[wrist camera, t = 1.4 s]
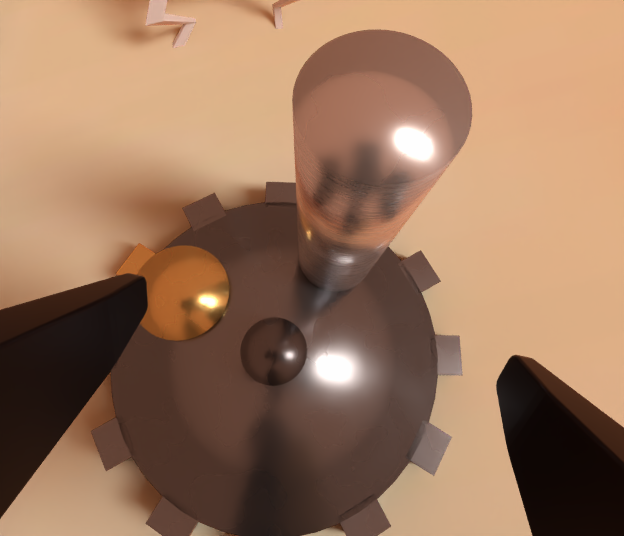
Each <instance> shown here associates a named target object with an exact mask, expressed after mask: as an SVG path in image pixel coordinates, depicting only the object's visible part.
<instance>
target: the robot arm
mask: <svg viewBox="0 0 624 536" xmlns="http://www.w3.org/2000/svg"><path fill="white" fill-rule="evenodd" d="M147 308H148V297H147V282H146V279H145V278H144V277H143V276H140V275H136V274H131V273H126V274H122V275H119V276H115V277H112V278H108V279H105V280H102V281H98V282H95V283H91V284H88V285H84V286H81V287H77V288H74V289H71V290H67V291H64V292H60V293H57V294H53V295H50V296H46V297H43V298H40V299H36V300H33V301H29V302H26V303H22V304H19V305H16V306H12V307H9V308H5V309H2V310H0V518H1V517H2V516H3V514H4V513H5V512H6V510H7V509H8V508H9V506H10V505H11V504H12V502H13V501H14V500H15V498H16V497H17V496H18V494H19V493H20V492H21V490H22V489H23V488H24V486H25V485H26V484H27V482H28V481H29V480H30V478H31V477H32V476H33V474H34V473H35V472H36V470H37V469H38V468H39V466H40V465H41V464H42V462H43V461H44V460H45V458H46V457H47V455H48V454H49V453H50V451H51V450H52V449H53V447H54V446H55V445H56V443H57V442H58V441H59V439H60V438H61V437H62V435H63V434H64V433H65V431H66V430H67V429H68V427H69V426H70V425H71V423H72V422H73V421H74V419H75V418H76V417H77V415H78V414H79V413H80V411H81V410H82V409H83V407H84V406H85V405H86V403H87V402H88V401H89V399H90V398H91V397H92V395H93V394H94V393H95V391H96V390H97V389H98V387H99V386H100V385H101V383H102V382H103V381H104V379H105V378H106V377H107V375H108V374H109V373H110V371H111V370H112V368H113V367H114V365H115V364H116V362H117V361H118V359H119V358H120V356H121V354H122V353H123V351H124V349H125V348H126V346H127V344H128V343H129V341H130V339H131V337H132V336H133V334H134V332H135V331H136V329H137V327H138V326H139V324H140V322H141V320H142V319H143V317H144V315H145V313H146V311H147ZM496 389H497V395H498V401H499V406H500V412H501V417H502V423H503V429H504V434H505V440H506V444H507V449H508V453H509V457H510V460H511V464H512V467H513V471H514V474H515V478H516V481H517V484H518V488H519V491H520V495H521V498H522V502H523V505H524V508H525V512H526V515H527V519H528V522H529V525H530V529H531V532H532V536H624V428H623V427H622V426H621V425H620V424H618V423H617V422H616V421H614V420H613V419H612V418H610V417H609V416H608V415H606V414H605V413H604V412H602V411H601V410H600V409H598V408H597V407H596V406H594V405H593V404H592V403H591V402H589V401H588V400H587V399H585V398H584V397H583V396H581V395H580V394H579V393H577V392H576V391H575V390H573V389H572V388H571V387H569V386H568V385H567V384H565V383H564V382H563V381H562V380H560V379H559V378H558V377H556V376H555V375H554V374H552V373H551V372H550V371H548V370H547V369H546V368H544V367H543V366H542V365H540V364H539V363H538V362H537V361H535V360H534V359H532V358H529V357H524V356H519V355H513V356H512V357H510V359H509V360H508V362H507V364H506V365H505V367H504V369H503V371H502V372H501V374H500V376H499V378H498V380H497V384H496Z"/></svg>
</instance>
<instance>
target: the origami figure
mask: <svg viewBox="0 0 624 536" xmlns="http://www.w3.org/2000/svg"><path fill="white" fill-rule="evenodd" d="M296 1H299V0H279V1H278V2H276V3H274V4H273V5H272V6H273V14H274V21H275V26H276V29H280V28H283V22H282V13H281V7H283V6H286V5H288V4H291V3H293V2H296ZM166 5H167V0H150V2H149V8H148V13H147V18H146V25H145V26H150V25H178V24H183V25H182V27H181V29H180V31H179V33H178V35H177V36H176V38H175V40H174V42H173V48H176V47H180V46H185V44H186V42H187V40H188V38H189V36H190V34H191V32H192V29H193V27H194V25H195V23H196V20H195V18H190V17H184V16H178V15H171V14H165V10H166Z"/></svg>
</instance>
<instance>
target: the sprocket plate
mask: <svg viewBox="0 0 624 536" xmlns="http://www.w3.org/2000/svg"><path fill="white" fill-rule="evenodd" d="M183 210H184V212H185V214H186V216H187V218H188V220H189V222H190V224H191V226H192V227H191V228H190V229H188V230H187V231H186V232H184V233H183V234H181V235H180V236H179V237H177V238H176V239H175V240H173V241H172V242H171V243H170V244H169V245H168V246H167V247H166V248H165V249H164V250H162V251H160V252H158V253H157V254H156V253H154V252H153V251H151V250H149V249H148V248H146V247H144V246H143V245H141V244H140V243H139V244H138V245H137V247H136V248H135V249H134V251H133V252H132V253H131V254H130V256H129V257H128V258H127V260H126V261H125V262H124V264H123V265H122V266H121V267H120V269H119V270H118V271H117V273H116V274H118V275H122V274H126V273H131V274H136V275H140V276H143V277H144V278H145V279H146V282H147V297H148V308H147V311H146V313H145V315H144V317H143V319H142V320H141V322H140V324H139V326H138V327H137V329H136V331H135V332H134V334H133V336H132V337H131V339H130V341H129V343H128V344H127V346H126V348H125V349H124V351H123V353H122V354H121V356H120V358H119V359H118V361H117V362H116V364H115V365H114V367H113V368H112V370H111V387H112V397H113V403H114V409H115V414H116V418H114V419H112V420H110V421H108V422H107V423H105V424H103V425H101V426H99V427H97V428H96V429H94V430H92V431H91V433H92V435H93V438H94V441H95V443H96V446H97V449H98V451H99V454H100V457H101V459H102V462H103V465H104V467H105V470H106V471H107V470H109V469H111V468H113V467H114V466H116V465H118V464H120V463H121V462H123V461H125V460H127V459H128V458H130V457H132V458H133V460H134V461H135V463H136V464H137V466H138V467H139V469H140V470H141V472H142V473H143V474H144V476H145V477H146V479H147V480H148V481H149V482H150V483H151V484H152V485H153V486H154V488H155V489H156V490H157V491H158V492H159V493H160V494H161V495H162V496H163V497H162V498H161V500H160V501H159V503H158V505H157V506H156V508H155V509H154V511H153V513H152V514H151V516H150V517H149V519H148V520H147V522H146V524H147V525H148V526H150V527H151V528H152V529H154V530H155V531H157V532H158V533H159V534H161V535H162V536H190V535H191V533H192V532H193V530H194V528H195V527H196V525H197V523H198V522H200V523H203V524H205V525H208V526H210V527H212V528H215V529H217V530H220V531H223V532H227V533H231V534H235V535H239V536H301V535H306V534H310V533H315V532H318V531H321V530H323V529H326V528H329V527H331V526H334V525H337V524H339V523H340V524H341V526H342V528H343V530H344V532H345V534H346V536H377V535H379V534H380V533H382V532H383V531H385V530H386V529H388V528H389V527H391V525H390V523H389V521H388V519H387V518H386V516H385V514H384V512H383V510H382V508H381V506H380V504H379V502H378V500H377V498H379V497H380V496H381V495H382V494H383V493H384V492H385V491H386V490H387V489H388V488H389V487H390V486H391V485H392V484H393V483H394V482H395V480H396V479H397V478H398V476H399V475H400V474H401V472H402V471H403V470H404V468H405V467H406V466H407V465H408V463H409V462H410V461H411V462H413V463H415V464H416V465H418V466H419V467H421V468H422V469H424V470H426V471H427V472H429V473H430V474H432V475H433V476H434V475H435V472H436V470H437V468H438V466H439V464H440V462H441V459H442V457H443V455H444V453H445V451H446V449H447V446H448V444H449V442H450V440H451V438H452V437H451V436H450V435H448V434H446V433H445V432H443V431H441V430H440V429H438V428H437V427H435V426H433V425H432V424H430V423H429V419H430V416H431V412H432V408H433V404H434V400H435V394H436V386H437V378H438V375H463V374H462V362H461V350H460V337H459V336H445V335H435V332H434V328H433V325H432V321H431V317H430V313H429V311H428V308H427V305H426V303H425V300H424V298H423V295H422V293H421V292H423V291H425V290H426V289H428V288H430V287H432V286H433V285H435V284H437V283H439V282H440V279H439V278H438V276H437V275H436V273H435V272H434V270H433V268H432V267H431V265H430V264H429V262H428V261H427V259H426V258H425V256H424V255H423V253H422V251H419V252H417V253H415V254H413V255H412V256H410V257H408V258H406V259H404V260H402V261H401V260H400V259H399V258H398V257H397V256H396V254H395V253H394V252H393V251H392V250H391V249H390V248H389V247H387V248H386V250H385V251H384V252H383V254H382V255H381V256H380V258H379V259H378V260H377V262H376V263H375V264H374V266H373V267H372V268H371V270H370V271H369V272H368V274H367V275H366V276H365V278H364V279H363V280H362V281H361V282H360V283H359V284H358V285H356V286H355V287H353V288H351V289H348V290H345V291H340V292H333V291H327V290H323V289H321V288H319V287H317V286H315V285H314V284H312V283H311V282H310V281H309V280H308V279H307V278H306V276H305V275H304V273H303V271H302V269H301V266H300V262H299V247H298V223H297V199H296V183H286V182H266V199H265V203H257V204H251V205H245V206H241V207H237V208H234V209H230V210H227V211H224V209H223V207H222V206H221V204H220V202H219V200H218V198H217V196H216V194H215V193H213V194H211V195H209V196H207V197H205V198H203V199H201V200H199V201H197V202H194V203H192V204H190V205H188V206H186V207H184V208H183Z"/></svg>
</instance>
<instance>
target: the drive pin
mask: <svg viewBox="0 0 624 536" xmlns="http://www.w3.org/2000/svg"><path fill="white" fill-rule="evenodd" d="M292 101H293V126H294V150H295V174H296V199H297V223H298V247H299V262H300V266H301V269H302V271H303V273H304V275H305V276H306V278H307V279H308V280H309V281H310V282H311V283H312V284H314V285H315V286H317V287H319V288H321V289H323V290H327V291H333V292H340V291H345V290H348V289H351V288H353V287H355V286H356V285H358V284H359V283H360V282H361V281H362V280H363V279H364V278H365V276H366V275H367V274H368V272H369V271H370V270H371V268H372V267H373V266H374V264H375V263H376V262H377V260H378V259H379V258H380V256H381V255H382V254H383V252H384V251H385V250H386V248H387V247H388V246H389V244H390V243H391V242H392V240H393V239H394V238H395V236H396V235H397V234H398V232H399V231H400V230H401V228H402V227H403V226H404V224H405V223H406V222H407V220H408V219H409V218H410V216H411V215H412V214H413V212H414V211H415V210H416V208H417V207H418V206H419V204H420V203H421V202H422V200H423V199H424V198H425V196H426V195H427V194H428V192H429V191H430V190H431V188H432V187H433V186H434V184H435V183H436V182H437V180H438V179H439V178H440V176H441V175H442V174H443V172H444V171H445V170H446V168H447V167H448V166H449V164H450V163H451V162H452V160H453V159H454V158H455V156H456V155H457V154H458V152H459V151H460V149H461V148H462V146H463V145H464V143H465V141H466V139H467V136H468V134H469V130H470V127H471V121H472V103H471V98H470V93H469V90H468V87H467V85H466V83H465V81H464V79H463V77H462V75H461V74H460V72H459V71H458V69H457V68H456V66H455V65H454V64H453V63H452V62H451V61H450V60H449V59H448V58H447V57H446V56H445V55H444V54H443V53H442V52H440V51H439V50H438V49H436V48H435V47H433V46H432V45H430V44H428V43H427V42H425V41H423V40H421V39H418V38H416V37H414V36H411V35H408V34H404V33H401V32H395V31H389V30H364V31H357V32H353V33H349V34H346V35H343V36H340V37H337V38H335V39H333V40H331V41H329V42H328V43H326V44H325V45H323V46H322V47H320V48H319V49H318V50H317V51H316V52H315V53H313V54H312V55H311V57H310V58H309V59H308V60H307V61H306V62H305V64H304V66H303V67H302V69H301V70H300V72H299V75H298V77H297V79H296V82H295V86H294V90H293V99H292Z"/></svg>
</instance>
